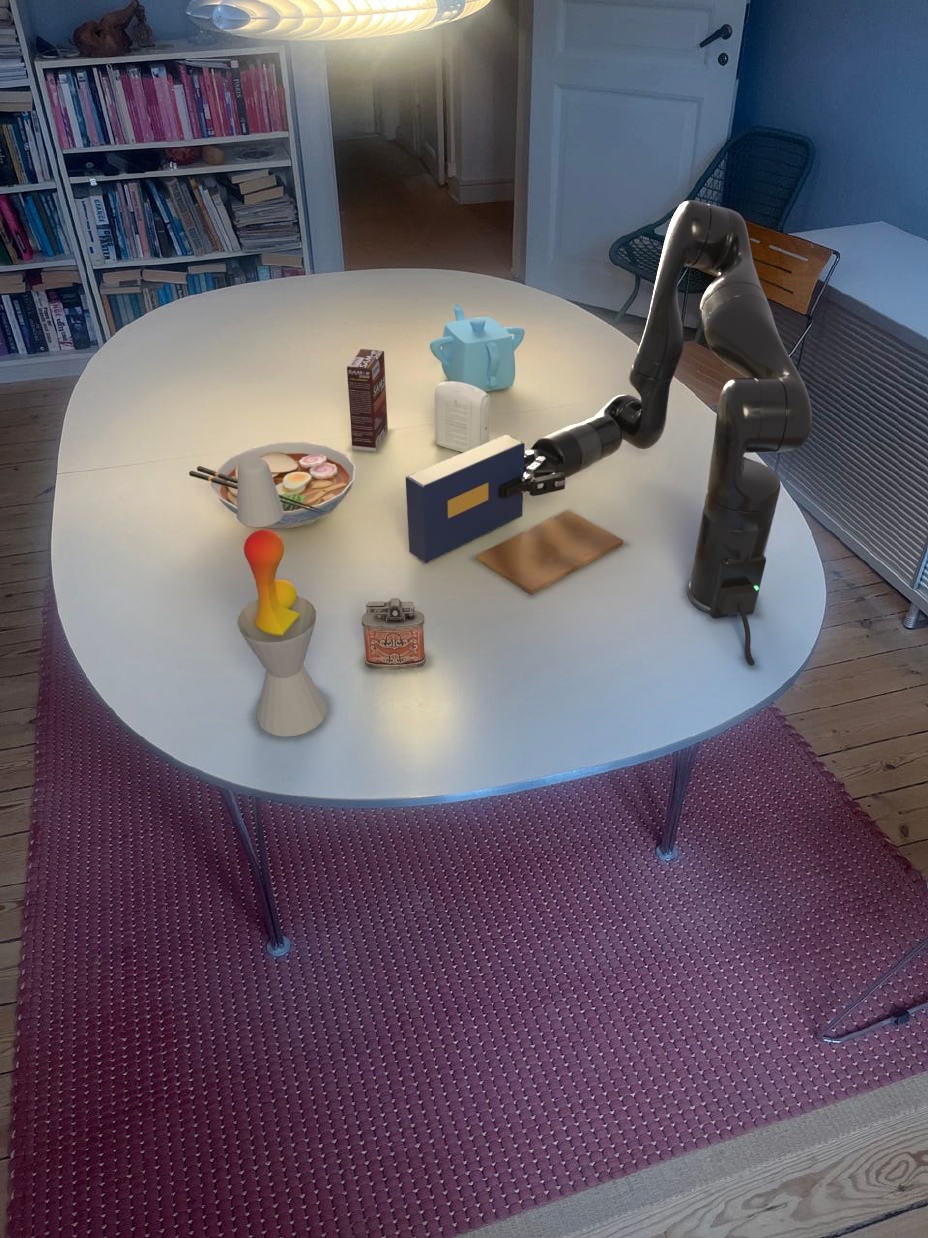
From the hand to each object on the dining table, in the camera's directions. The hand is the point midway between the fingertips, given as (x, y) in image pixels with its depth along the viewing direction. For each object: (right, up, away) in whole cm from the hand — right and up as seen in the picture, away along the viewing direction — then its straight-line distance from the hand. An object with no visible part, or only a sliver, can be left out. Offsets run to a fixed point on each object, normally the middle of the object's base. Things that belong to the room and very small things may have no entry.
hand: (490, 486), depth 147 cm
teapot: (-2, +29, +49) cm, 57 cm away
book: (-4, -7, +2) cm, 8 cm away
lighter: (-13, -26, -20) cm, 36 cm away
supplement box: (-21, +12, +29) cm, 38 cm away
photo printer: (-4, +11, +27) cm, 29 cm away
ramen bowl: (-33, -3, +9) cm, 34 cm away
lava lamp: (-26, -32, -28) cm, 50 cm away
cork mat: (+9, -10, 0) cm, 14 cm away
